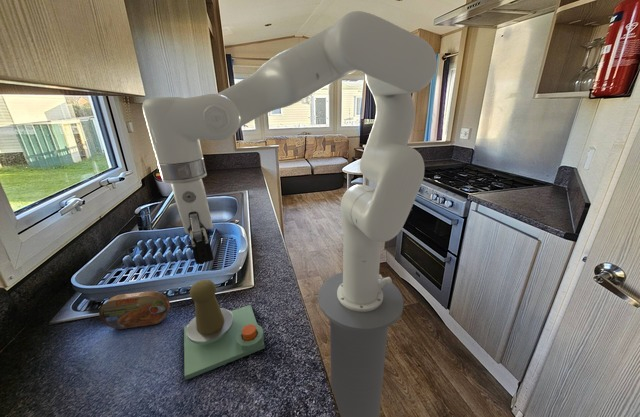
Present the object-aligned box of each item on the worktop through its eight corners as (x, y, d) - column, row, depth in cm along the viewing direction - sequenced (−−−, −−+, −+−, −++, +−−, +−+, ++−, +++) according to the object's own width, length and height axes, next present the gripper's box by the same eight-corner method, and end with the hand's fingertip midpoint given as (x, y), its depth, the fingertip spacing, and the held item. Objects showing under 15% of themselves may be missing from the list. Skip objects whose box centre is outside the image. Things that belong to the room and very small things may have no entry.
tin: (104, 331, 64) (92, 303, 60) (112, 321, 66) (101, 294, 63) (170, 322, 66) (162, 295, 62) (174, 313, 68) (167, 287, 65)
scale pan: (230, 305, 67) (229, 302, 66) (236, 333, 58) (236, 330, 58) (186, 319, 63) (186, 316, 62) (187, 351, 54) (186, 348, 54)
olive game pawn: (212, 336, 57) (202, 296, 53) (190, 330, 58) (179, 290, 54) (229, 316, 62) (222, 278, 58) (209, 311, 64) (200, 273, 60)
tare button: (254, 328, 60) (254, 322, 59) (258, 337, 58) (257, 331, 57) (241, 333, 59) (240, 327, 58) (244, 343, 56) (243, 337, 56)
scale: (252, 307, 70) (251, 298, 69) (267, 349, 58) (266, 338, 57) (185, 330, 63) (182, 320, 62) (185, 382, 51) (182, 371, 50)
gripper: (209, 176, 42) (228, 265, 49) (202, 159, 57) (217, 230, 63) (156, 184, 39) (183, 278, 46) (163, 164, 54) (183, 237, 60)
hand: (203, 250), depth 54 cm, fingers open, 9 cm apart
